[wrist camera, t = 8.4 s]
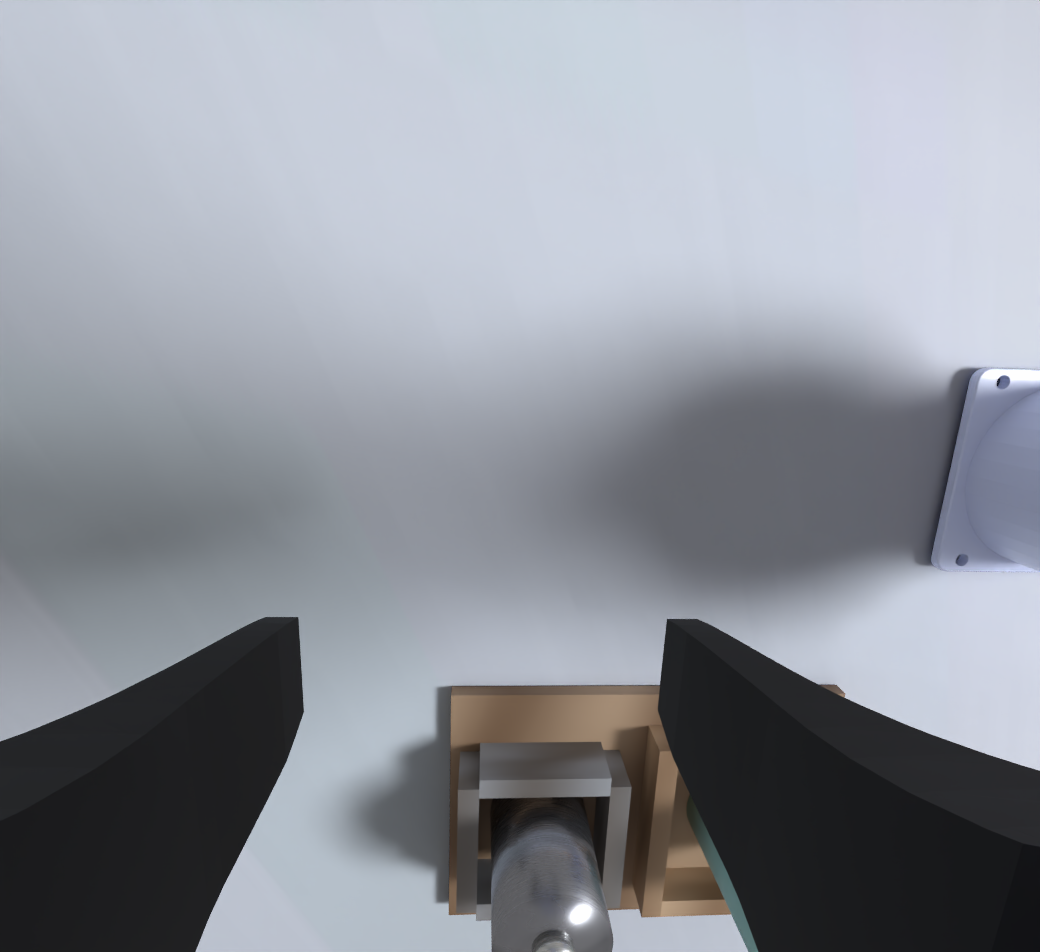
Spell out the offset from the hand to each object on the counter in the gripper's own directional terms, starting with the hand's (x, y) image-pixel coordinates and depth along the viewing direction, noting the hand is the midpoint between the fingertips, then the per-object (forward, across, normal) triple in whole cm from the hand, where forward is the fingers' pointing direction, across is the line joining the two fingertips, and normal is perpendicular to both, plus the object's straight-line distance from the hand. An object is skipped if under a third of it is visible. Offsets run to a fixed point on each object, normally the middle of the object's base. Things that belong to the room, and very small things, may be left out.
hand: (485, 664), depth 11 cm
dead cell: (+10, -2, +13) cm, 16 cm away
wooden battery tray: (+10, -7, +13) cm, 18 cm away
